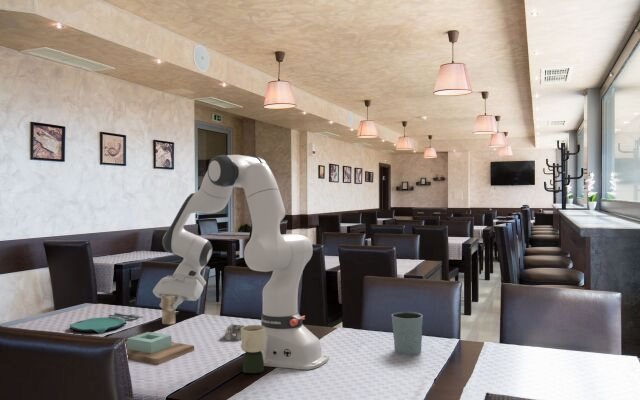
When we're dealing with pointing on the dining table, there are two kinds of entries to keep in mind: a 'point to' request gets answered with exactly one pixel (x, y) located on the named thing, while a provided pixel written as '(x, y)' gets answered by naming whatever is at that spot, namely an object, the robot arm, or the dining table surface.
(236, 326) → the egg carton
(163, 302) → the beige tall block
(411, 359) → the dining table surface
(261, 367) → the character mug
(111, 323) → the teal flat piece
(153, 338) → the end cap
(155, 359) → the walnut board
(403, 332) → the grey green cup
